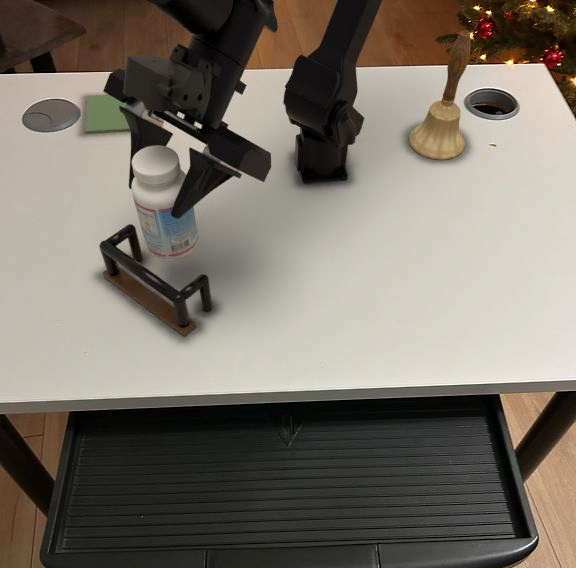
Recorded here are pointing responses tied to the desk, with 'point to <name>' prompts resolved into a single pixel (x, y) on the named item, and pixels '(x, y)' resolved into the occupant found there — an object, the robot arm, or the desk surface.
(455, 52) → the hand bell
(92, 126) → the felt mat
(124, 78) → the robot arm
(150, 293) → the rail rack
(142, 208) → the pill bottle
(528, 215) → the desk surface
